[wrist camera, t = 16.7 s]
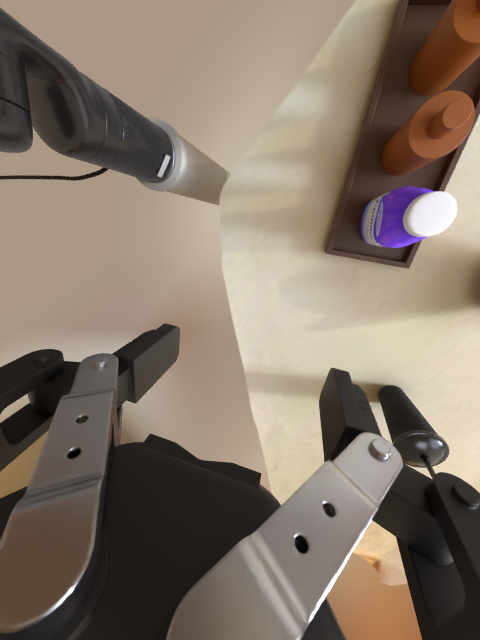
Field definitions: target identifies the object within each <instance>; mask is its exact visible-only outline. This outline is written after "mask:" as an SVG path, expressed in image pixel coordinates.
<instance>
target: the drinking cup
mask: <svg viewBox="0 0 480 640" xmlns="http://www.w3.org/2000/svg"><path fill="white" fill-rule="evenodd" d="M378 396H379V400H380V403H381V406H382V410H383V413H384V416H385V420H386V423H387V426H388V430H389V433H390V436H391V440H392V443H393V446H394V447H395V448H396V449H397V450H398V452H399V453H400V455H401V457H402V460H403V463H405V464H407V465H410V466H413V467H421V468H425V467H427V469H428V471H429V473H430V475H431V477H432V478H433V477H434V476H435V475H436V474H435V472H434V470H433V468H432V466H436V465H438V464H440V463H442V462H443V461H445V460H446V458H447V457H448V455H449V447H448V445H447V443H446V442H445V440H444V439H443V438H441V437H440V436H439V435H438V434H437V433H436V432H435V431H434V429H433V428H432V427H431V426H430V424H429V423H428V422H427V421H426V419H425V418H424V417H423V416H422V414H421V413H420V412H419V411H418V409H417V408H416V407H415V406H414V404H413V403H412V402H411V401H410V399H409V398H408V397H407V396H406V394H405V393H404V392H403V391H402V389H400V388H399V387H396V386H386V387H384V388H382V389H381V390H380V391H379V394H378Z"/></svg>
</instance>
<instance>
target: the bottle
mask: <svg viewBox="0 0 480 640" xmlns="http://www.w3.org/2000/svg"><path fill="white" fill-rule="evenodd" d="M456 213H457V203H456V200H455V199H454V197H453V196H452V195H451V194H449V193H447V192H442V191H435V192H434V191H432V190H429V189H425V188H420V187H414V186H405V187H401V188H398V189H394V190H392V191H389V192H387V193H385V194H383V195H381V196H379V197H376V198H375V199H373V200H372V201H370V202H369V203H368V204H367V206H366V207H365V209H364V212H363V215H362V220H361V235H362V238H363V240H364V241H365V242H366V243H368V244H371V245H376V246H381V247H390V248H400V247H404V246H407V245H410V244H412V243H414V242H417V241H420V240H422V239H424V238H426V237H427V236H433V235H436V234H438V233H440V232H442V231H443V230H445V229H446V228H447V227H448V226H449V225H450V224H451V223H452V222H453V220H454V218H455V216H456Z"/></svg>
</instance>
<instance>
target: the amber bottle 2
mask: <svg viewBox="0 0 480 640" xmlns="http://www.w3.org/2000/svg"><path fill="white" fill-rule="evenodd" d="M474 116H475V109H474V104H473V102H472V100H471V98H470V97H469V96H468V95H467V94H465V93H464V92H461V91H457V90H449V91H445V92H441V93H439V94H437V95H435V96H433V97H432V98H430V99H429V100H427V101H426V102H425V103H424V104H423V105H422V106H421V107H420V108H419V109H418V110H417V111H416V112H415V113H414V114H413V115H412V116H411V117H410V118H409V119H408V120H407V121H406V122H405V123H404V124H403V125H402V126H401V127H400V128H399V130H398V131H397V132H396V133H395V134H394V135H393V136H392V137H391V138H390V139H389V140H388V141H387V143H386V144H385V146H384V148H383V151H382V155H381V163H382V166H383V168H384V170H385V171H386V172H387V173H388V174H390V175H393V176H403V175H406V174H409V173H411V172H413V171H415V170H417V169H419V168H421V167H423V166H424V165H426V164H428V163H430V162H432V161H434V160H436V159H438V158H440V157H442V156H444V155H446V154H448V153H450V152H451V151H453V150H454V149H455V148H457V147H458V146H459V145H460V144H461V143H462V142H463V140H464V139H465V138H466V136H467V135H468V133H469V131H470V129H471V127H472V125H473V121H474Z"/></svg>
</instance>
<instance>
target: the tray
mask: <svg viewBox="0 0 480 640" xmlns="http://www.w3.org/2000/svg"><path fill="white" fill-rule="evenodd" d="M451 2H452V0H400V1H399V5H398V8H397V11H396V15H395V18H394V22H393V25H392V28H391V32H390V35H389V38H388V42H387V45H386V48H385V52H384V55H383V59H382V62H381V65H380V69H379V72H378V75H377V79H376V82H375V85H374V89H373V92H372V96H371V99H370V102H369V106H368V109H367V112H366V116H365V119H364V122H363V126H362V129H361V133H360V136H359V139H358V143H357V146H356V149H355V153H354V156H353V160H352V163H351V166H350V170H349V173H348V176H347V180H346V183H345V186H344V190H343V193H342V197H341V200H340V203H339V207H338V210H337V213H336V217H335V220H334V223H333V227H332V230H331V234H330V237H329V240H328V244H327V247H326V250H325V253H327V254H332V255H338V256H343V257H349V258H354V259H360V260H365V261H371V262H376V263H382V264H387V265H393V266H398V267H404V268H409V267H410V265H411V263H412V260H413V258H414V256H415V254H416V252H417V250H418V247H419V245H420V243H421V241H422V240H420V241H417V242H414V243H412V244H410V245H407V246H404V247H400V248H390V247H381V246H376V245H371V244H368V243H366V242H365V241H364V240H363V238H362V235H361V220H362V215H363V212H364V209H365V207H366V206H367V204H368V203H369V202H370V201H372V200H373V199H375V198H376V197H379V196H381V195H383V194H385V193H387V192H389V191H392V190H394V189H398V188H401V187H405V186H414V187H420V188H425V189H429V190H432V191H434V192H435V191H442V192H444V191H445V188H446V186H447V184H448V182H449V180H450V178H451V175H452V173H453V171H454V169H455V167H456V164H457V162H458V160H459V158H460V156H461V154H462V151H463V149H464V147H465V145H466V143H467V140H468V138H469V136H470V134H471V132H472V130H473V127H474V125H475V123H476V121H477V119H478V116H479V114H480V56H479V57H478V58H477V59H476V60H475V61H474V62H473V63H472V64H471V65H470V66H469V67H468V68H467V69H466V70H464V71H463V72H462V73H461V74H460V75H459V76H458V77H457V78H456V79H455V80H454V81H453V82H452V83H451V84H450V85H449V86H448V87H447V88H445V89H444V90H443V91H441V92H445V91H449V90H457V91H461V92H464V93H465V94H467V95H468V96H469V97H470V98H471V100H472V102H473V104H474V109H475V116H474V121H473V125H472V127H471V129H470V131H469V133H468V135H467V136H466V138H465V139H464V140H463V142H462V143H461V144H460V145H459V146H458V147H457V148H455V149H454V150H453V151H451V152H450V153H448V154H446V155H444V156H442V157H440V158H438V159H436V160H434V161H432V162H430V163H428V164H426V165H424V166H423V167H421V168H419V169H417V170H415V171H413V172H411V173H409V174H406V175H403V176H393V175H390V174H388V173H387V172H386V171H385V170H384V168H383V166H382V163H381V155H382V151H383V148H384V146H385V144H386V143H387V141H388V140H389V139H390V138H391V137H392V136H393V135H394V134H395V133H396V132H397V131H398V130H399V128H400V127H401V126H402V125H403V124H404V123H405V122H406V121H407V120H408V119H409V118H410V117H411V116H412V115H413V114H414V113H415V112H416V111H417V110H418V109H419V108H420V107H421V106H422V105H423V104H424V103H425V102H426V101H427V100H429V99H430V98H432V97H433V96H435V95H437V94H439V93H441V92H439V93H437V94H434V95H430V96H423V95H420V94H418V93H416V92H415V91H414V90H413V88H412V87H411V84H410V77H409V76H410V69H411V65H412V62H413V60H414V58H415V56H416V55H417V53H418V52H419V50H420V49H421V47H422V46H423V44H424V42H425V41H426V39H427V38H428V36H429V35H430V33H431V32H432V30H433V29H434V27H435V26H436V24H437V23H438V21H439V20H440V18H441V17H442V15H443V14H444V12H445V11H446V9H447V8H448V6H449V5H450V3H451Z"/></svg>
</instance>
